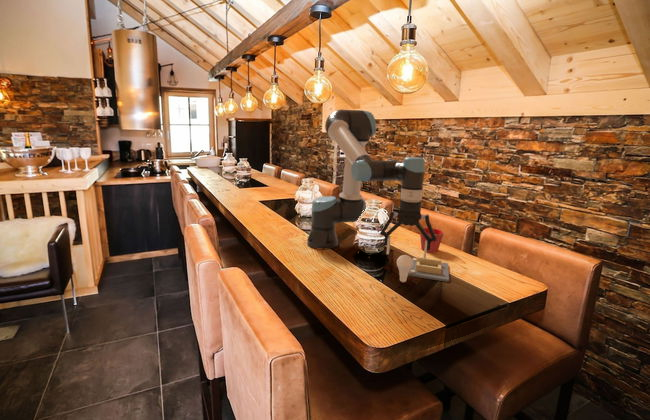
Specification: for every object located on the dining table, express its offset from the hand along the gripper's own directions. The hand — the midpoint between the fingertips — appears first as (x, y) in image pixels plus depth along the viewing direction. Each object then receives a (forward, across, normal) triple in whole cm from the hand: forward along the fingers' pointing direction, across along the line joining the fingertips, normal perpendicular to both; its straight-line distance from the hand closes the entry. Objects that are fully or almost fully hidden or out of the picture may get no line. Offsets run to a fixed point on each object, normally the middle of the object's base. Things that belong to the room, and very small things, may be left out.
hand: (406, 255), depth 134 cm
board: (+11, +9, +16) cm, 22 cm away
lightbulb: (+11, 0, 0) cm, 11 cm away
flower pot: (+11, +9, +43) cm, 46 cm away
